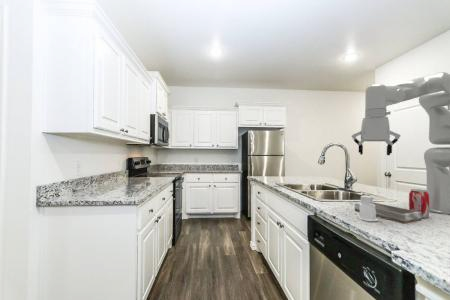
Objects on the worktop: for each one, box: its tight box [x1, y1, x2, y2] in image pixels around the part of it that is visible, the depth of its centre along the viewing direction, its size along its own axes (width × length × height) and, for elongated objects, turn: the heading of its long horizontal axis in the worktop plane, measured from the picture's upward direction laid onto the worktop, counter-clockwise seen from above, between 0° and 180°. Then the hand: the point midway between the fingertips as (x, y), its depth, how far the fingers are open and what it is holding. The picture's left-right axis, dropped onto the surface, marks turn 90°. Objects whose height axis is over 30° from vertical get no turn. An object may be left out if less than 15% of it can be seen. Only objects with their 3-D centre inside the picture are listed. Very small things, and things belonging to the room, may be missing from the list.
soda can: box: [408, 188, 430, 219], centre depth 104 cm, size 7×7×12 cm
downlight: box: [358, 195, 378, 223], centre depth 99 cm, size 8×7×10 cm
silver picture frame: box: [354, 201, 423, 224], centre depth 105 cm, size 12×22×4 cm, turn 23°
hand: (374, 154), depth 97 cm, fingers open, 9 cm apart
